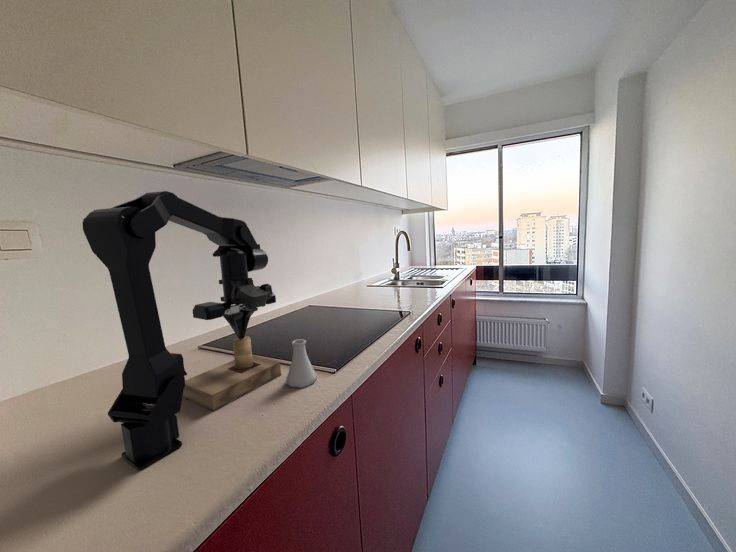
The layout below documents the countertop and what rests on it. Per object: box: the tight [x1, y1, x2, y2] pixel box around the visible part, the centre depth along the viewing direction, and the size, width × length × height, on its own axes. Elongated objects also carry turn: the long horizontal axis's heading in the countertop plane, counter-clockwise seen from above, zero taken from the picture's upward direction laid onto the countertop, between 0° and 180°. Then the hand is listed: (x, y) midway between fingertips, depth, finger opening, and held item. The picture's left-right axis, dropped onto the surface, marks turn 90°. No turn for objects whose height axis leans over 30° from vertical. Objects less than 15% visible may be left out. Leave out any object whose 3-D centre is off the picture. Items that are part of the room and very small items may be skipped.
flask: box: [285, 338, 318, 388], centre depth 73 cm, size 7×7×10 cm
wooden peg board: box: [182, 354, 282, 412], centre depth 72 cm, size 18×12×4 cm, turn 149°
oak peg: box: [232, 335, 253, 374], centre depth 74 cm, size 4×4×10 cm
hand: (241, 338), depth 74 cm, fingers closed
